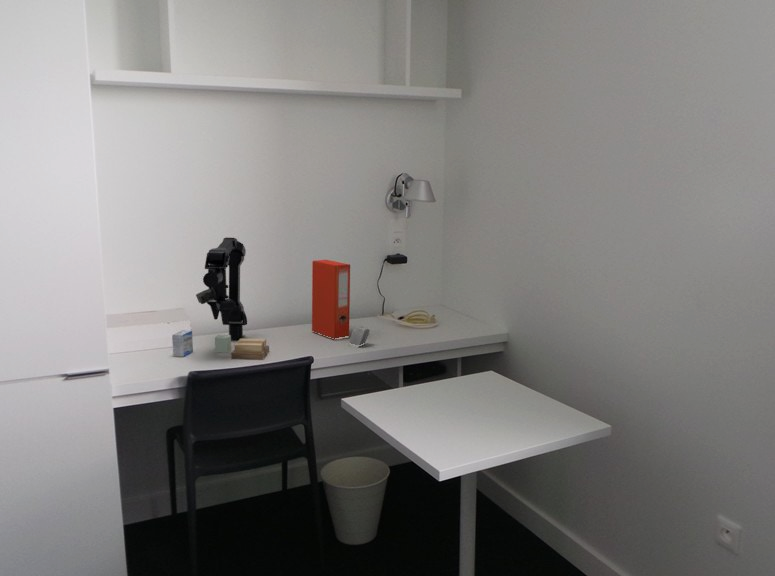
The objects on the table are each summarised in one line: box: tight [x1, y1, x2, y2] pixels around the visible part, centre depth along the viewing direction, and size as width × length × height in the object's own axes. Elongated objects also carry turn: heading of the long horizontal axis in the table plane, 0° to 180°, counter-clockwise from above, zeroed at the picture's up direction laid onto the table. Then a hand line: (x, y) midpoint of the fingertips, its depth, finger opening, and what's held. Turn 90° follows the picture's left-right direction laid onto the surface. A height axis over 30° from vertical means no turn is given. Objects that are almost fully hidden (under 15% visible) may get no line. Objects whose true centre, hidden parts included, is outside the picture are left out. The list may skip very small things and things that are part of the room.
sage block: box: [214, 334, 232, 354], centre depth 271 cm, size 5×5×6 cm
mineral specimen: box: [348, 326, 371, 345], centre depth 283 cm, size 7×9×8 cm
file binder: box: [311, 259, 351, 339], centre depth 297 cm, size 8×17×32 cm, turn 39°
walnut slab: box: [230, 345, 270, 361], centre depth 266 cm, size 12×12×3 cm
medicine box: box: [171, 329, 194, 358], centre depth 266 cm, size 8×4×9 cm, turn 168°
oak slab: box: [234, 337, 267, 353], centre depth 266 cm, size 10×10×3 cm
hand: (220, 321), depth 266 cm, fingers open, 9 cm apart
